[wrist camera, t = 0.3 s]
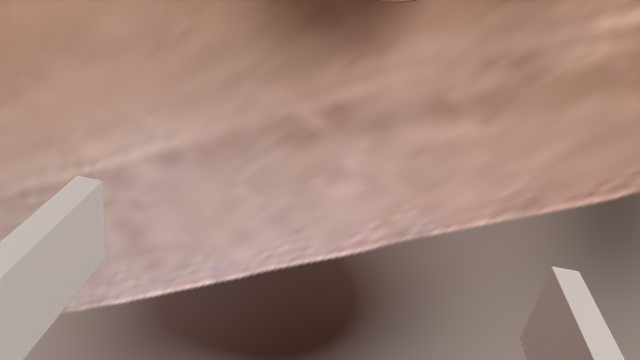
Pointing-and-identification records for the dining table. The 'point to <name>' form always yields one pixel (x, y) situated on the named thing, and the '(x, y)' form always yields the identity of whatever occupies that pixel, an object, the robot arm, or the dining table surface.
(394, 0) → the lidded jar
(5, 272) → the robot arm
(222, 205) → the dining table surface
